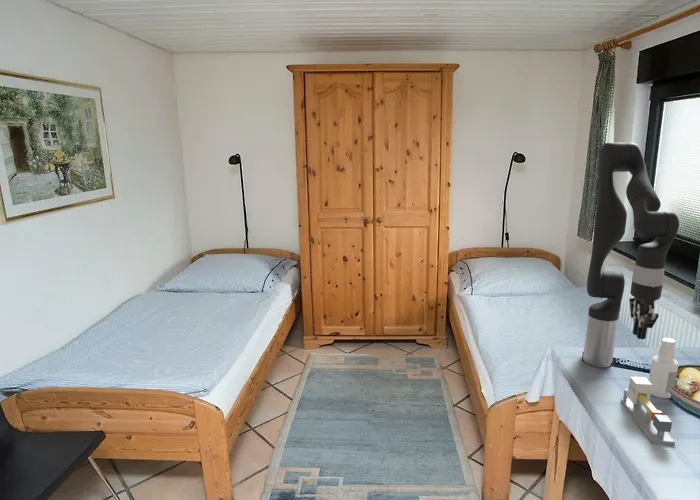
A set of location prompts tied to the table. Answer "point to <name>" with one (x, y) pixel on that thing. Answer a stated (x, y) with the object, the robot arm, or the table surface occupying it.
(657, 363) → the white bottle
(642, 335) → the robot arm
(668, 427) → the yellow bar
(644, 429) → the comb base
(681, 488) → the table surface
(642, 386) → the sleeve
